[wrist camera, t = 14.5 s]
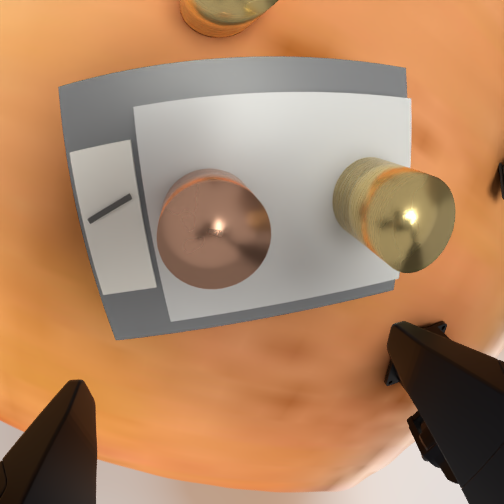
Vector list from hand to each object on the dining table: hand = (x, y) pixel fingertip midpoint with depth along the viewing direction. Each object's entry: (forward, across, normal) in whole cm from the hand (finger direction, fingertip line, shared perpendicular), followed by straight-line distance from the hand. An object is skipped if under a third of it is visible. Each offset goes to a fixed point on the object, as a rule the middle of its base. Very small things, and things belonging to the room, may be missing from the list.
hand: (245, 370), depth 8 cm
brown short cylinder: (+8, 0, -2) cm, 8 cm away
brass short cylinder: (+8, -8, -2) cm, 12 cm away
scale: (+12, -3, -2) cm, 13 cm away
